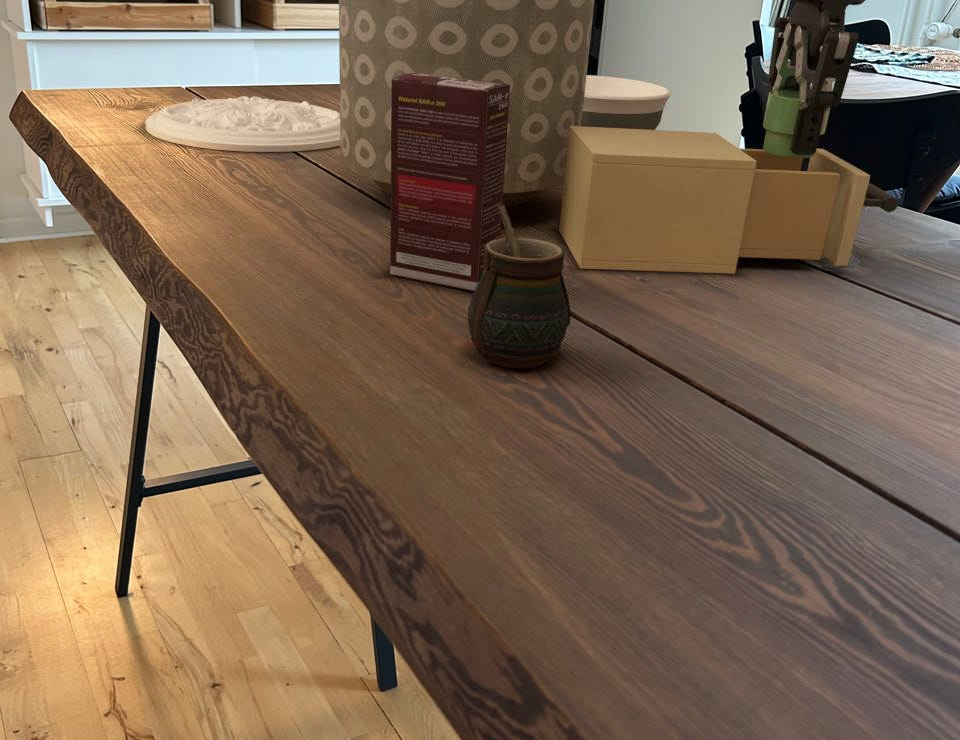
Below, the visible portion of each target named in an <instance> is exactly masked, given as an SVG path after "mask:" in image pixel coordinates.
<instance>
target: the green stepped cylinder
mask: <svg viewBox="0 0 960 740" xmlns="http://www.w3.org/2000/svg"><path fill="white" fill-rule="evenodd" d="M799 101H800V91H794V90H774V91H773V90H771V91H769V93H768V97H767V101H766V102H767V103H766V107H765V112H764V117H763V122H762V127H763V129H765V130H766V131H765V135H764V141H763V145H762V150H763V151H765V152H767V153H770V154H774V155H778V156H784V157H793V158H803V159H807V158H809V159H810V157H814V156H815V154H816V152H815V153H814V154H813V155H797V154H795V153H793V152H792V151H791V143H792V138H793V133H794V128H795V123H796V118H797V113H798V109H800V108H799ZM830 110H831V108H830V109H829V110H828V111H824V112H825V114H824V118H823V123H822V128H821V132H820V136H822V135H825V133H826V129H827V124H828V119H829V117H830V116H829V115H830Z"/></svg>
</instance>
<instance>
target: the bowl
mask: <svg viewBox="0 0 960 740" xmlns="http://www.w3.org/2000/svg"><path fill="white" fill-rule="evenodd" d="M671 95H672V94H671V91H670V89H668V88H667V87H664V86H662V85H659V84H655V83H653V82H652V83H651V82H647V81H644V80H643V81H642V80H637V79H631V78H624V77H614V76H604V75H594V74H593V75H592V74H587V75H586V85H585V94H584V104H583V114H582V123H581V126H582V127H603V128H623V129H644V130H657V128H658V126H659V125H660V123H661V121H662V116H663V113H664V109H665V107H666V104H667V102H668V100H669V98H670V97H671Z"/></svg>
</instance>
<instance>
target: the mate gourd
mask: <svg viewBox="0 0 960 740" xmlns="http://www.w3.org/2000/svg"><path fill="white" fill-rule="evenodd" d="M497 206H498V208H499V210H500V214H501V218H502V220H501V224H503V227H504V230H505V233H506V237H505V238H500V239H497V240H493V241H491V242H489V243H487V244H486V245H485V247H484V259H483V263H484V271H483V273H482V276H481V279H480V281H479V283H478V285H477V287H476V289H475V291H473V293H472V296H471V298H470V301H469V305H468V308H467V325H468V330H469V333H470V340H471V342H472V345H473V346H474V348H475V349H476V351H477V352H478V354H479V355H480V356H481V357H482V358H483V361H487V364H492V365H496V366H498V367H500V368H501V367H502V368H506V369H507V368H508V369H519V370H523V369H534V368H538V367H540V366H542V365H543V364H545V363H546V362H548V361H549V360H551V359H552V358H553V357H554V356H555V355H556V354H557V353H558V352H559V350H560V349H561V347H562V342H563V340H564V339H565V337H566V333H567V331H568V327H569V325H570V324H571V305H570V299H569V297H568V292H567V288H566V283H565V281H564V277H563V273H562V271H563V269H564V260H565V255H566V254H565V250H564V249H563V248H561V247H560V246H559V245H557V244H555V243H552V242H549V241H546V240H541V239H536V238H535V239H534V238H525V237H516V234H515V233H516V232H515V230H514V228H513V226H512V221H511V219H510V215H508V211H507V209H506V208H505V204H503V205H498V204H497Z"/></svg>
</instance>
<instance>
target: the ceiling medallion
mask: <svg viewBox="0 0 960 740" xmlns="http://www.w3.org/2000/svg"><path fill="white" fill-rule="evenodd" d="M145 130H146V132H147V133H148V134H150V135H151V136H153V137H155V138H157V139H160V140H163V141H166V142H169V143H174V144H177V145H182V146H189V147H193V148H202V149H208V150H209V149H210V150H216V151H217V150H218V151H229V152H231V151H232V152H248V153H249V152H251V153H287V152H304V151H305V152H306V151H315V150H324V149H330V148H335V147H340V111H336V110H334V109H330V108H328V107H325V106H324V107H323V106H320V105H319V106H318V105H315V104H311V103H309V102H308V101H306V100H304V101H303V100H302V102H296V101H295V102H294V101H287V100H275V99H274V98H271V99H269V98H262V97H261V96H251V97H249V96H246V95H244V96H243V95H242V96H239V97H234V98H232V97H229V98H214V99H201V100H200V99H198V98H196V97H194V98H193V99H192V100H191V101H184V102H179V103H178V102H177V103H174V104H171V105H168V106H165V107H164V108H162V109H160V110H158V111H156V112H154V113H152V114H150V116H148V117H147V118H146V119H145Z"/></svg>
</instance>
